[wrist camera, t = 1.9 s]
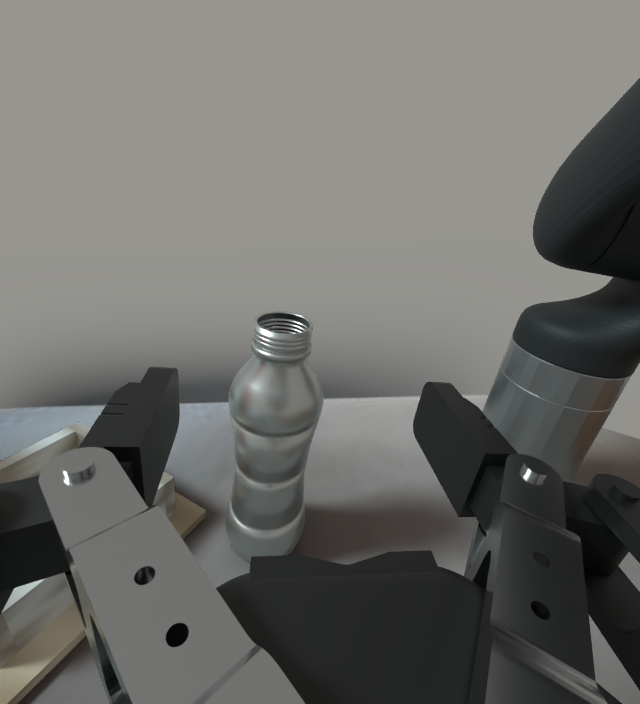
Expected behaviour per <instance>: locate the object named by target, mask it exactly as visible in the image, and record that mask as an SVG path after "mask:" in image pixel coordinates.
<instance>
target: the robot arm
mask: <svg viewBox="0 0 640 704" xmlns="http://www.w3.org/2000/svg"><path fill="white" fill-rule="evenodd" d="M533 239H534V244H535V247H536V249H537V251H538V252H539V254H540V255H541V256H542V257H543V258H544V259H546V260H548V261H550V262H552V263H554V264H556V265H559V266H561V267H565V268H569V269H575V270H580V271H585V272H590V273H596V274H601V275H606V276H612V277H613V278H612V280H611V281H610V282H609V283H608V284H607V285H606V286H605V287H603V288H602V289H600V290H598V291H596V292H594V293H591V294H589V295H586V296H582V297H579V298H575V299H570V300H564V301H557V302H548V303H540V304H536V305H532V306H530V307H528V308H526V309H525V310H524V311H523V313H522V314H521V316H520V318H519V320H518V322H517V324H516V327H515V329H514V332H513V335H512V337H511V340H510V343H509V345H508V348H507V350H506V353H505V355H504V358H503V360H502V363H501V366H500V368H499V371H498V373H497V376H496V379H495V381H494V384H493V386H492V389H491V391H490V394H489V396H488V399H487V401H486V404H485V406H484V409H483V411H481V410H480V409H479V408H478V407H477V406H476V405H474V404H473V403H471V402H470V401H468V400H467V399H465V398H463V397H462V396H461V395H460V393H459V392H458V391H457V390H456V389H455V387H454V386H453V385H452V384H451V383H443V382H427V383H426V384H425V386H424V388H423V391H422V394H421V397H420V401H419V404H418V407H417V411H416V414H415V418H414V422H413V430H414V435H415V438H416V440H417V442H418V443H419V445H420V447H421V449H422V451H423V453H424V454H425V456H426V458H427V460H428V462H429V464H430V465H431V467H432V469H433V471H434V473H435V475H436V476H437V478H438V480H439V482H440V484H441V486H442V487H443V489H444V491H445V493H446V495H447V497H448V498H449V500H450V502H451V504H452V506H453V508H454V509H455V511H456V513H457V515H458V517H476V518H477V520H478V522H477V524H476V527H475V529H474V533H473V537H472V542H471V546H470V551H469V555H468V560H467V564H466V569H465V573H464V576H462V575H460V574H458V573H455V572H453V571H451V570H448V569H445V568H442V567H438V566H437V564H436V561H435V559H434V557H433V554H432V552H431V551H402V552H388V553H385V554H382V555H378V556H375V557H372V558H369V559H366V560H363V561H360V562H357V563H354V564H350V565H343V564H338V563H333V562H329V561H324V560H319V559H315V558H310V557H305V556H300V555H284V556H254V557H251V563H250V573H247V574H244V575H241V576H239V577H236V578H234V579H232V580H230V581H228V582H226V583H224V584H222V585H221V586H219V587H217V588H215V586H214V585H213V584H212V582H211V581H210V579H209V578H208V576H207V575H206V573H205V572H204V570H203V569H202V567H201V566H200V564H199V563H198V562H197V560H196V559H195V557H194V556H193V554H192V553H191V551H190V550H189V548H188V547H187V545H186V544H185V542H184V541H183V539H182V538H181V537H180V535H179V534H178V532H177V531H176V529H175V528H174V526H173V525H172V523H171V522H170V520H169V519H168V517H167V516H166V515H165V513H164V512H163V510H162V509H161V508H160V507H159V506H158V505H153V502H154V499H155V496H156V493H157V490H158V487H159V484H160V481H161V478H162V475H163V472H164V469H165V466H166V463H167V460H168V457H169V454H170V451H171V448H172V445H173V442H174V439H175V436H176V433H177V429H178V424H179V386H178V385H179V384H178V371H177V369H176V368H161V367H160V368H159V367H150V368H149V369H148V371H147V372H146V374H145V376H144V378H143V379H142V381H141V383H130V382H129V383H128V384H126V385H125V386H123V387H122V388H120V389H119V390H117V391H116V392H115V393H114V394H113V396H112V397H111V399H110V400H109V402H108V403H107V406H105V408H104V409H103V411H102V412H101V415H99V417H98V418H97V420H96V421H95V423H94V424H93V426H92V427H91V429H90V430H89V432H88V433H87V435H86V436H85V438H84V440H83V441H82V443H81V444H80V446H79V447H78V449H74V450H71V451H68V452H66V453H63V454H61V455H59V456H57V457H56V458H54V459H53V460H51V461H50V462H49V463H48V464H47V465H46V466H45V467H44V468H43V469H42V471H41V472H40V475H38V476H35V477H31V478H27V479H22V480H17V481H12V482H7V483H2V484H0V615H1V613H2V611H3V609H4V607H5V605H6V603H7V601H8V599H9V598H10V596H11V594H12V592H13V590H14V588H16V587H19V586H22V585H26V584H29V583H32V582H35V581H39V580H42V579H45V578H48V577H51V576H55V575H58V574H61V573H63V574H64V577H65V580H66V582H67V585H68V588H69V590H70V593H71V596H72V598H73V601H74V604H75V606H76V609H77V612H78V614H79V617H80V620H81V622H82V625H83V628H84V630H85V633H86V636H87V638H88V641H89V644H90V647H91V650H92V653H93V657H94V660H95V663H96V666H97V669H98V672H99V675H100V678H101V681H102V684H103V686H104V689H105V692H106V695H107V697H108V700H109V703H110V704H622V703H621V702H619V701H618V700H617V699H616V698H615V697H613V696H612V695H611V694H610V693H609V692H607V691H606V690H605V689H604V688H603V687H601V686H600V685H599V684H598V683H596V680H595V672H594V662H593V653H592V643H591V634H590V624H589V615H590V617H591V618H592V620H593V621H594V623H595V624H596V626H597V627H598V629H599V630H600V632H601V633H602V635H603V636H604V638H605V639H606V641H607V642H608V644H609V645H610V647H611V648H612V650H613V651H614V653H615V654H616V656H617V657H618V659H619V660H620V662H621V663H622V665H623V666H624V668H625V669H626V671H627V672H628V674H629V675H630V677H631V678H632V680H633V681H634V683H635V684H636V686H637V687H638V689H639V690H640V592H639V591H638V590H637V588H636V587H635V586H634V585H633V583H632V582H631V581H630V580H629V579H628V577H627V576H626V575H625V574H624V572H623V571H622V570H621V569H620V568H619V566H618V565H619V564H620V563H621V561H622V560H623V559H624V557H625V556H626V555H627V553H628V552H630V553H631V554H632V555H633V556H634V557H635V558H636V560H637V561H638V562H639V563H640V488H638V487H637V486H635V485H634V484H632V483H630V482H628V481H626V480H624V479H622V478H619V477H616V476H613V475H609V474H598V475H595V476H594V478H593V479H592V481H591V482H590V484H589V486H588V487H585V486H581V485H577V484H573V483H570V481H571V480H572V478H573V476H574V474H575V473H576V471H577V469H578V467H579V466H580V464H581V462H582V461H583V459H584V457H585V455H586V454H587V452H588V450H589V448H590V447H591V445H592V443H593V442H594V440H595V438H596V436H597V435H598V433H599V431H600V429H601V428H602V426H603V424H604V423H605V421H606V419H607V417H608V415H609V414H610V412H611V410H612V409H613V407H614V405H615V403H616V401H617V400H618V398H619V396H620V394H621V393H622V391H623V389H624V387H625V386H626V384H627V382H628V381H629V379H630V377H631V375H632V374H633V373H634V371H635V369H636V368H637V366H638V364H639V363H640V78H639V79H638V81H636V83H635V84H634V85H633V86H632V87H631V88H630V89H629V90H628V91H627V92H626V93H625V94H624V95H623V97H622V98H621V99H620V100H619V101H618V102H617V103H616V104H615V105H614V106H613V107H612V108H611V109H610V111H609V112H608V113H607V114H606V115H605V116H604V117H603V118H602V119H601V120H600V121H599V122H598V123H597V125H596V126H595V127H594V128H593V129H592V130H591V131H590V132H589V133H588V134H587V135H586V137H585V138H584V139H583V140H582V141H581V142H580V143H579V144H578V145H577V147H576V148H575V149H574V150H573V151H572V153H571V154H570V155H569V156H568V158H567V159H566V160H565V162H564V163H563V164H562V166H561V167H560V168H559V170H558V171H557V173H556V174H555V176H554V178H553V179H552V181H551V182H550V184H549V186H548V188H547V190H546V191H545V193H544V195H543V197H542V199H541V202H540V204H539V207H538V209H537V212H536V215H535V220H534V225H533ZM152 505H153V506H152ZM588 614H589V615H588Z"/></svg>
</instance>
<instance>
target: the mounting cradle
mask: <svg viewBox="0 0 640 704" xmlns="http://www.w3.org/2000/svg"><path fill="white" fill-rule="evenodd" d="M90 429H91V428H89V427H87V426H86V425H84V424H82V423H80V422H77V423H75V424H73V425H71V426H69V427H67V428H65V429H63V430H61V431H59V432H57V433H55V434H53V435H51V436H49V437H47V438H45V439H43V440H41V441H39V442H37V443H35V444H33V445H31V446H29V447H27V448H25V449H23V450H21V451H19V452H17V453H15V454H13V455H11V456H9V457H7V458H5V459H3V460H1V461H0V484H2V483H7V482H12V481H17V480H22V479H27V478H31V477H35V476H38V475H40V472H41V471H42V469H43V468H44V467H45V466H46V465H47V464H48V463H49V462H50V461H51V460H53V459H54V458H56V457H57V456H59V455H61V454H63V453H66V452H68V451H71V450H74V449H78V447H79V446H80V444H81V443H82V441H83V440H84V438H85V436H86V435H87V433H88V432H89V430H90ZM153 505H158V506H159V507H160V508H161V509H162V510H163V512H164V513H165V515H166V516H167V517H168V519H169V520H170V522H171V523H172V525H173V526H174V528H175V529H176V531H177V532H178V534H179V535H180V537H181V538H182V539H184V538H185V537H186V536H187V535H188V534H189V533H190V532H191V531H192V530H193V529H194V528H195V527H196V526H197V525H198V524H199V523H200V522H201V521H202V520H203V519H204V518H205V517H206V510H205V509H203V508H201V507H200V506H198V505H196V504H195V503H193V502H192V501H190V500H188V499H187V498H185V497H183V496H182V495H180V494H178V493H177V492H175V490H174V477H172V476H171V475H169V474H167V473H166V472H163V475H162V478H161V481H160V484H159V487H158V490H157V493H156V496H155V499H154V502H153ZM153 505H152V506H153ZM85 636H86V633H85V630H84V628H83V625H82V622H81V620H80V617H79V614H78V612H77V609H76V606H75V604H74V601H73V598H72V596H71V593H70V590H69V588H68V585H67V582H66V580H65V577H64V574H63V573H61V574H58V575H55V576H51V577H48V578H45V579H42V580H39V581H35V582H32V583H29V584H26V585H22V586H19V587H16V588H14V590H13V592H12V594H11V596H10V598H9V599H8V601H7V603H6V605H5V607H4V609H3V611H2V613H1V615H0V704H18V703H19V702H20V701H21V700H22V699H23V698H24V697H25V696H26V695H27V694H28V693H29V692H30V691H31V690H32V689H33V688H34V687H35V686H36V685H37V684H38V683H39V682H40V681H41V680H42V679H43V678H44V677H45V676H46V675H47V674H48V673H49V672H50V671H51V670H52V669H53V668H54V667H55V666H56V665H57V664H58V663H59V662H60V661H61V660H62V659H63V658H64V657H65V656H66V655H67V654H68V653H69V652H70V651H71V650H72V649H73V648H74V647H75V646H76V645H77V644H78V643H79V642H80V641H81V640H82V639H83V638H84V637H85Z"/></svg>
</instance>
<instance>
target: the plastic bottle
mask: <svg viewBox="0 0 640 704" xmlns="http://www.w3.org/2000/svg"><path fill="white" fill-rule="evenodd" d="M312 329H313V328H312V323H311V321H310V320H309V319H307V318H306V317H304V316H301V315H298V314H295V313H290V312H282V311H274V312H267V313H263V314H261V315H259V316H257V317H256V319H255V323H254V337H253V338H252V344H251V349H252V351H253V353H254V356H253V357H251V359H250V360H249V361H248V362H247V363H246V364H245V365H244V366H243V367H242V369H241V370H240V371H239V373H238V374H237V375H236V376H235V379H234V381H233V383H232V386H231V388H230V391H229V409H230V415H231V422H232V428H233V435H234V445H235V476H234V483H233V490H232V495H231V498H230V501H229V504H228V509H227V514H226V521H225V524H226V531H227V535H228V539H229V542H230V545H231V547H232V549H233V550H234V552H235V553H236V554H237V555H238V556H239V557H241V558H242V559H244V560H246V561H248V562H251V557H254V556H284V555H289V554H290V553H291V552H292V551H293V550H294V549H295V547H296V545H297V544H298V542H299V539H300V537H301V534H302V532H303V529H304V526H305V504H304V496H303V495H304V472H305V467H306V462H307V458H308V453H309V448H310V444H311V441H312V438H313V435H314V432H315V429H316V426H317V423H318V420H319V417H320V414H321V410H322V406H323V393H322V388H321V383H320V381H319V379H318V377H317V375H316V373H315V371H314V369H313V368H312V366H311V365H310V363H309V362H308V360H307V359H306V358H307V357H309V355H310V354H311V348H312V344H311V336H312Z"/></svg>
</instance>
